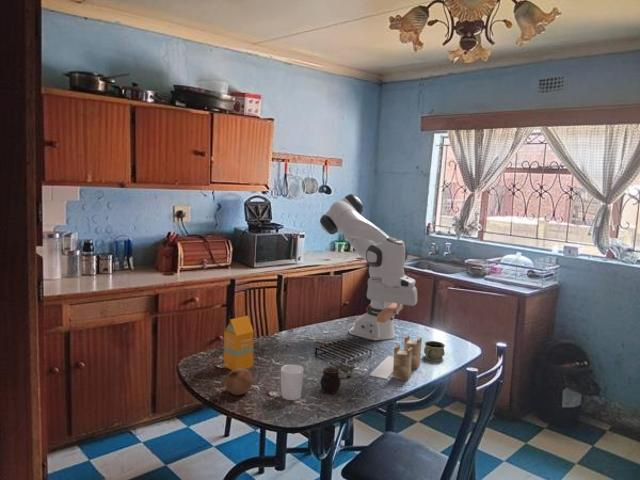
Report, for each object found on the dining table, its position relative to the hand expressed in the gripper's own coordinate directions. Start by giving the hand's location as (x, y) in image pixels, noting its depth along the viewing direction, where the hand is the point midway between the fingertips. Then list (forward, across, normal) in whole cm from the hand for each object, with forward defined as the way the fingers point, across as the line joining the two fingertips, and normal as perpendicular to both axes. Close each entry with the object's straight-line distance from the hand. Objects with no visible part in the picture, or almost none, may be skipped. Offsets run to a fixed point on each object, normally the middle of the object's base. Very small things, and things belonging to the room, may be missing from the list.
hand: (390, 312), depth 205 cm
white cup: (+23, -21, -43) cm, 53 cm away
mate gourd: (+23, -11, -32) cm, 41 cm away
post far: (+23, +8, +7) cm, 25 cm away
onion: (+23, -38, -50) cm, 67 cm away
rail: (+1, 0, 0) cm, 1 cm away
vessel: (+23, +14, +21) cm, 34 cm away
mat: (+23, 0, 0) cm, 23 cm away
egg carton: (+23, -14, -15) cm, 31 cm away
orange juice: (+23, -52, -30) cm, 64 cm away
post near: (+23, +8, -7) cm, 25 cm away
